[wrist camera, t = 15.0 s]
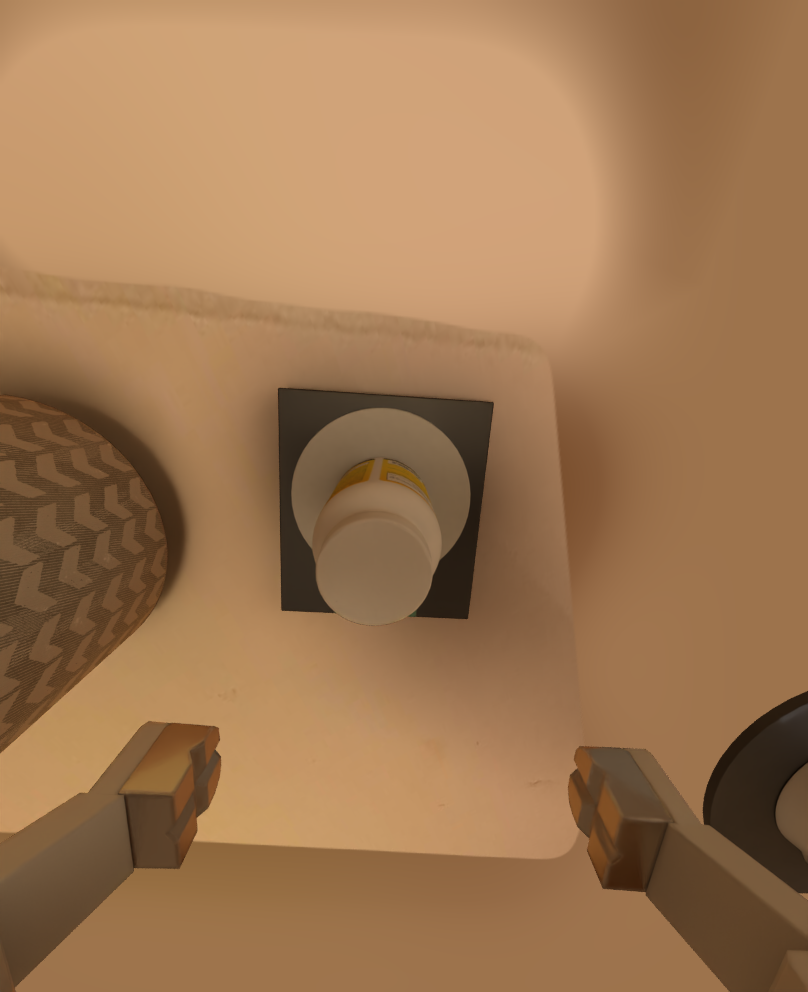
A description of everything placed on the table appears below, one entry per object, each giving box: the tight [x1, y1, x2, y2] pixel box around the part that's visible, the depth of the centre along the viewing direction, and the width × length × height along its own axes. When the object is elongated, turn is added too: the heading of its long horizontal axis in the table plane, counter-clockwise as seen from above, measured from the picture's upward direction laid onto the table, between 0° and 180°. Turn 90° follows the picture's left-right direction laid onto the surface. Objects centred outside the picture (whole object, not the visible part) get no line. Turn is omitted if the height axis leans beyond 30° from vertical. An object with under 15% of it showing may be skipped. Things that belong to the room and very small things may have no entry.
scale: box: [278, 388, 494, 619], centre depth 28 cm, size 14×16×3 cm
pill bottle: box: [312, 457, 442, 626], centre depth 21 cm, size 6×6×11 cm
